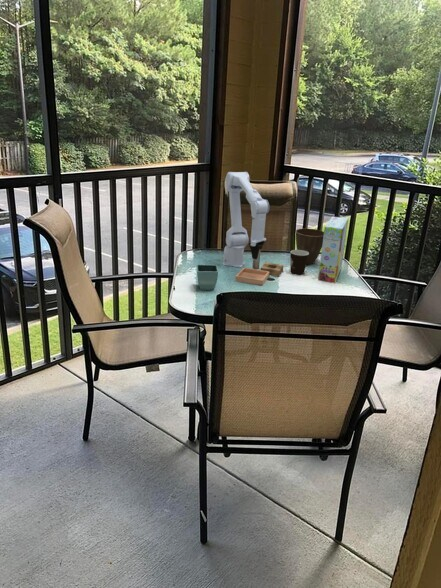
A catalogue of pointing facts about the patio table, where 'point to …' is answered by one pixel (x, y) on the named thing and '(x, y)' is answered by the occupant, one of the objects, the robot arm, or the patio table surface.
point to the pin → (256, 262)
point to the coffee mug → (298, 261)
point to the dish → (252, 276)
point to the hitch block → (273, 269)
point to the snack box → (333, 249)
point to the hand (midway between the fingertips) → (255, 257)
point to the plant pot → (309, 243)
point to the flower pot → (207, 276)
